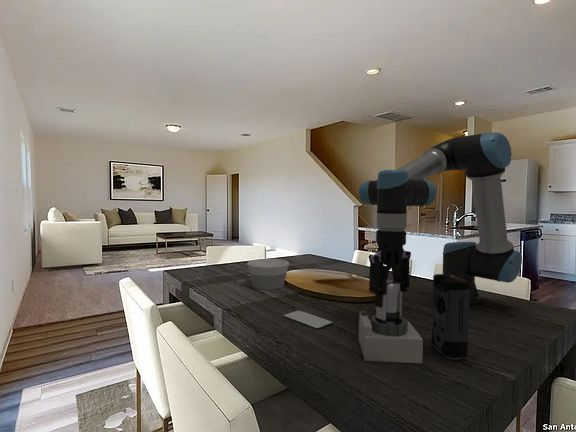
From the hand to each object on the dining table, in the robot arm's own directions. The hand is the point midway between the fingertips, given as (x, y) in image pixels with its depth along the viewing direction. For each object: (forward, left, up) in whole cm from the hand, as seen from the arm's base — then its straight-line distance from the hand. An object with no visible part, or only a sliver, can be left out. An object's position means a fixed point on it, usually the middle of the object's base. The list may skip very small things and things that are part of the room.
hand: (389, 316), depth 88 cm
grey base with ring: (0, 0, -9) cm, 9 cm away
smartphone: (+22, -20, -10) cm, 31 cm away
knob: (0, 0, -3) cm, 3 cm away
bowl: (+41, -61, -10) cm, 74 cm away
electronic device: (-16, -1, -10) cm, 19 cm away
